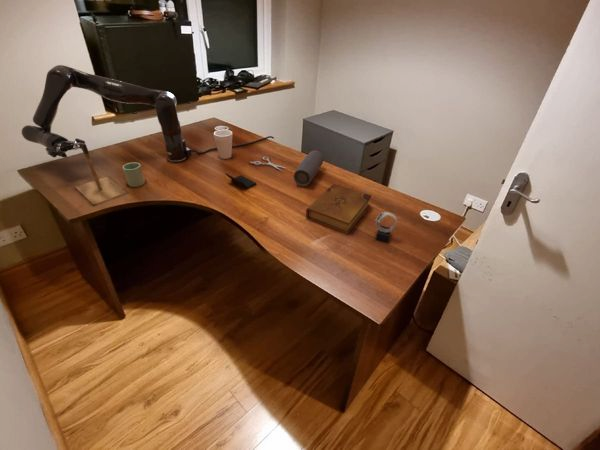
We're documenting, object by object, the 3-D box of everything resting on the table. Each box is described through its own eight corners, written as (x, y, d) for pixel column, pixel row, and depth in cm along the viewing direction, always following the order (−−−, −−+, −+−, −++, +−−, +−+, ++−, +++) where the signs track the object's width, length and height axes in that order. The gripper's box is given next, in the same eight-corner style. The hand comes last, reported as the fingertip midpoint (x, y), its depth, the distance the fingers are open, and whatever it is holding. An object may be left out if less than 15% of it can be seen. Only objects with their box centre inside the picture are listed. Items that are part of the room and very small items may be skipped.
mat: (107, 177, 156) (107, 176, 156) (126, 193, 146) (126, 192, 145) (75, 188, 148) (75, 186, 148) (93, 205, 137) (93, 204, 137)
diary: (331, 194, 151) (332, 183, 147) (369, 206, 143) (371, 195, 140) (305, 218, 135) (306, 207, 131) (347, 234, 127) (349, 222, 124)
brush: (101, 187, 148) (83, 141, 134) (103, 189, 147) (85, 142, 133) (97, 189, 146) (78, 142, 133) (99, 191, 145) (80, 144, 132)
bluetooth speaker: (311, 190, 153) (312, 170, 147) (292, 186, 155) (292, 167, 149) (324, 168, 170) (325, 150, 164) (307, 165, 172) (307, 147, 166)
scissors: (263, 155, 179) (292, 165, 169) (263, 156, 179) (292, 167, 170) (249, 162, 172) (279, 173, 162) (249, 163, 172) (279, 174, 163)
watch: (373, 230, 130) (378, 207, 123) (394, 235, 128) (400, 212, 121) (370, 238, 126) (375, 215, 119) (391, 244, 124) (398, 220, 117)
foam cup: (238, 155, 179) (235, 132, 171) (226, 161, 173) (223, 138, 165) (225, 150, 183) (222, 128, 175) (213, 156, 177) (209, 133, 169)
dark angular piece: (258, 179, 156) (247, 168, 147) (252, 192, 154) (240, 183, 146) (240, 175, 161) (228, 165, 153) (234, 188, 160) (221, 179, 151)
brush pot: (140, 177, 157) (135, 160, 151) (148, 183, 153) (143, 166, 147) (125, 183, 152) (119, 165, 147) (132, 189, 148) (127, 171, 143)
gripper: (34, 139, 140) (54, 149, 134) (68, 129, 150) (89, 138, 143) (42, 155, 145) (62, 166, 138) (74, 145, 154) (94, 154, 148)
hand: (75, 151), depth 141 cm, fingers open, 8 cm apart
